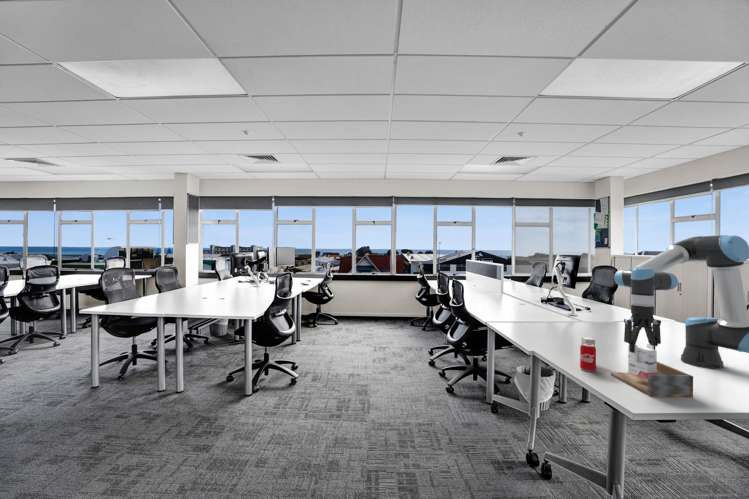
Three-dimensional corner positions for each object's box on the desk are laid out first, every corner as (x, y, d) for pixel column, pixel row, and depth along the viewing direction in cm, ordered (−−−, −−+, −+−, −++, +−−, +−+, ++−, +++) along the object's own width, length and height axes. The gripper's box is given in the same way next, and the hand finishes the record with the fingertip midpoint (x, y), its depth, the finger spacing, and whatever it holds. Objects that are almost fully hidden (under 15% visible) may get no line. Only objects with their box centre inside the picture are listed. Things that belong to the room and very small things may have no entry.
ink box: (657, 378, 133) (657, 349, 133) (647, 379, 132) (647, 350, 132) (636, 371, 141) (636, 344, 141) (627, 372, 140) (627, 344, 140)
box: (595, 366, 159) (595, 339, 159) (585, 365, 160) (585, 339, 160) (590, 362, 164) (590, 337, 164) (581, 362, 165) (581, 336, 165)
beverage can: (577, 367, 157) (577, 342, 157) (589, 367, 157) (589, 342, 157) (586, 372, 151) (586, 346, 151) (599, 372, 151) (599, 346, 151)
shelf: (647, 375, 147) (647, 357, 147) (693, 397, 125) (693, 376, 125) (610, 375, 148) (610, 356, 148) (650, 396, 126) (650, 375, 126)
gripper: (658, 303, 140) (658, 357, 140) (613, 303, 141) (612, 356, 141) (673, 306, 133) (673, 363, 133) (625, 306, 133) (625, 362, 133)
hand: (642, 360), depth 137 cm, fingers closed on ink box, 6 cm apart
